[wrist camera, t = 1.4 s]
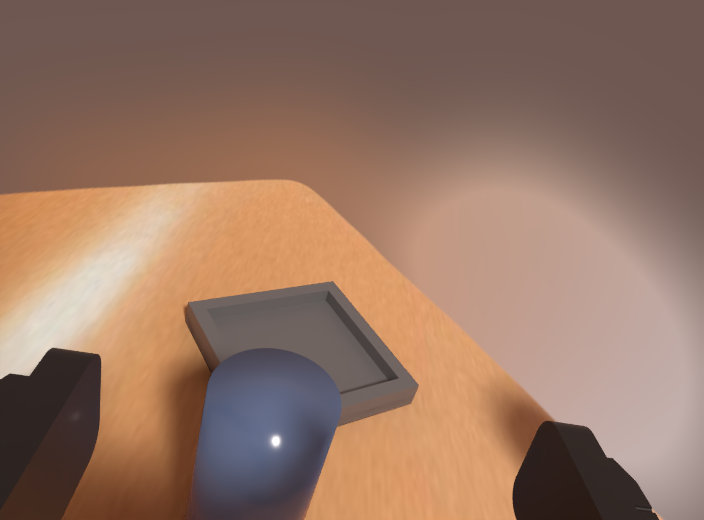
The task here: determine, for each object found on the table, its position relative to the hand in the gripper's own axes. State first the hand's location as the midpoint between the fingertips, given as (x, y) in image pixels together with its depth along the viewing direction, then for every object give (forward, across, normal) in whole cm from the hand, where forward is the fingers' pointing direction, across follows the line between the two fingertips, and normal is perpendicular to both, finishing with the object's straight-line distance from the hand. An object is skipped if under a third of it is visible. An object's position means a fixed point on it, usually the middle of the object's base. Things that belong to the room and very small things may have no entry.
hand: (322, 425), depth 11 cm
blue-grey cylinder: (+12, +1, +19) cm, 22 cm away
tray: (+26, -1, +18) cm, 31 cm away
